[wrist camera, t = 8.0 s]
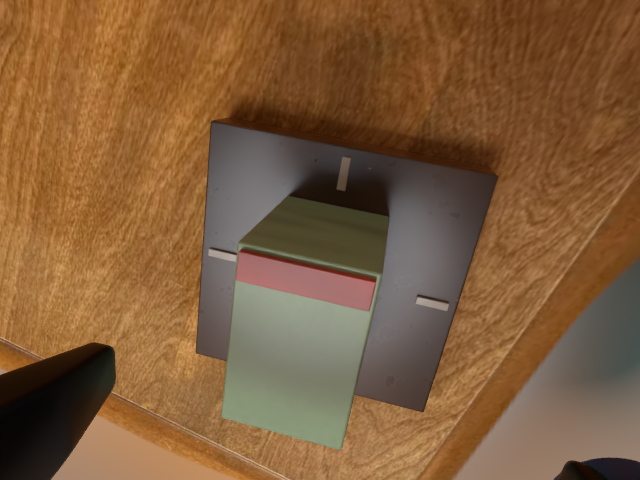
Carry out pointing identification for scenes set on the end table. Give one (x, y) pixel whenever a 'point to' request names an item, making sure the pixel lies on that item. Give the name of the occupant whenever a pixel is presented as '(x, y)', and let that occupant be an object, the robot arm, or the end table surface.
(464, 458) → the end table surface
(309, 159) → the plate
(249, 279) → the box
